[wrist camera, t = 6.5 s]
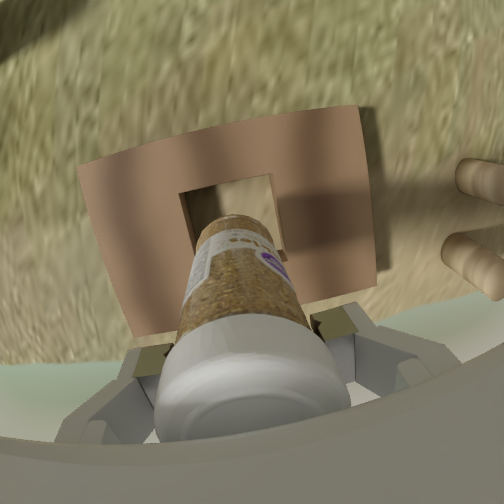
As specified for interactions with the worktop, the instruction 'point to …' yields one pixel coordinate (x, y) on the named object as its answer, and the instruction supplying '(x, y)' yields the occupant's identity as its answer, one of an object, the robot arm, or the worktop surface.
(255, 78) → the worktop surface
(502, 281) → the medium beech dowel
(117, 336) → the worktop surface
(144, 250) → the walnut board
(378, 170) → the worktop surface
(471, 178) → the short beech dowel
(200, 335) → the sprinkles bottle
